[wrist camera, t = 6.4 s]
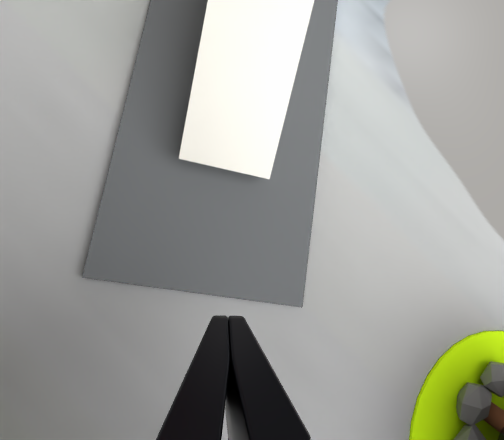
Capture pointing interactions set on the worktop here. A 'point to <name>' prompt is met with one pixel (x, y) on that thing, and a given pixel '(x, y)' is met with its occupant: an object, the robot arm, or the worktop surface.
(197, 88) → the domino
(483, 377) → the toy cauldron
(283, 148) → the mat
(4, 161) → the worktop surface
